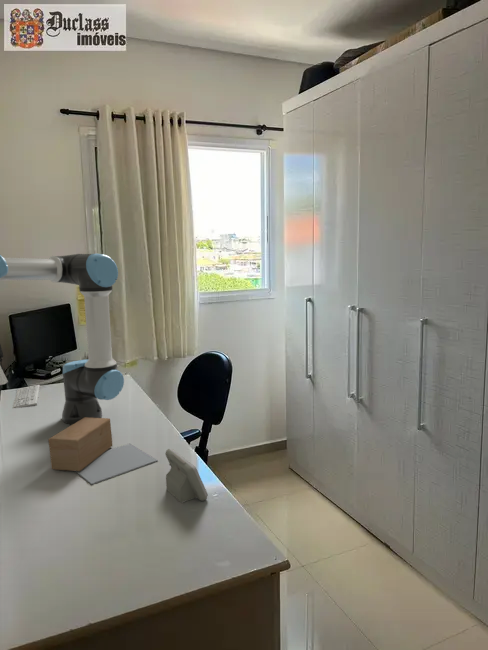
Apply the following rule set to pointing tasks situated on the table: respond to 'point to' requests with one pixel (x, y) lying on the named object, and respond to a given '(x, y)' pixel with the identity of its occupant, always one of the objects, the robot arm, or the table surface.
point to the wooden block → (80, 444)
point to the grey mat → (115, 463)
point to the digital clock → (183, 478)
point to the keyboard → (26, 396)
